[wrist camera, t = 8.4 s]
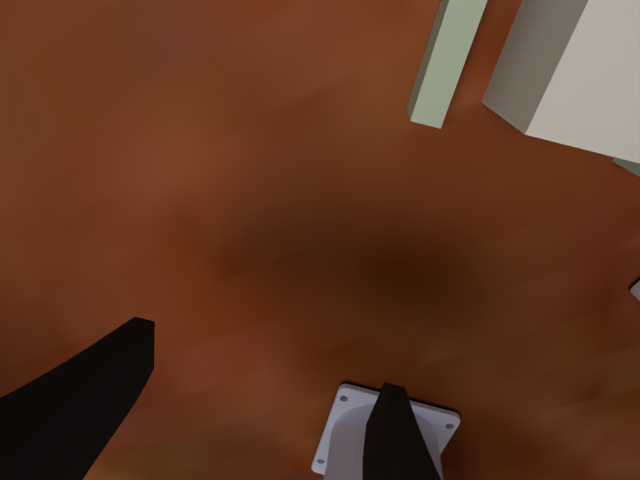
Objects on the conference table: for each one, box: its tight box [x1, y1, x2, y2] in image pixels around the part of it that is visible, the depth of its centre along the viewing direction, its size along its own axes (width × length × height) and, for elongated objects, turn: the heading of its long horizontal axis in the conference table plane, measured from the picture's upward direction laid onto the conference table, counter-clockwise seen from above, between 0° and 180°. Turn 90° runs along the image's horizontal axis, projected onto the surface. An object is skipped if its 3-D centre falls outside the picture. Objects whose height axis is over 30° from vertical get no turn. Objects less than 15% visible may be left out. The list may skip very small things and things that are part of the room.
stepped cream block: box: [481, 0, 640, 163], centre depth 12 cm, size 8×4×6 cm, turn 168°
